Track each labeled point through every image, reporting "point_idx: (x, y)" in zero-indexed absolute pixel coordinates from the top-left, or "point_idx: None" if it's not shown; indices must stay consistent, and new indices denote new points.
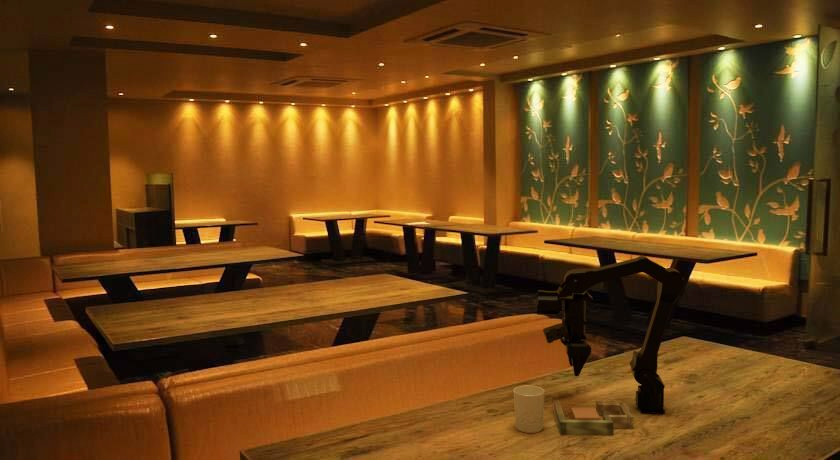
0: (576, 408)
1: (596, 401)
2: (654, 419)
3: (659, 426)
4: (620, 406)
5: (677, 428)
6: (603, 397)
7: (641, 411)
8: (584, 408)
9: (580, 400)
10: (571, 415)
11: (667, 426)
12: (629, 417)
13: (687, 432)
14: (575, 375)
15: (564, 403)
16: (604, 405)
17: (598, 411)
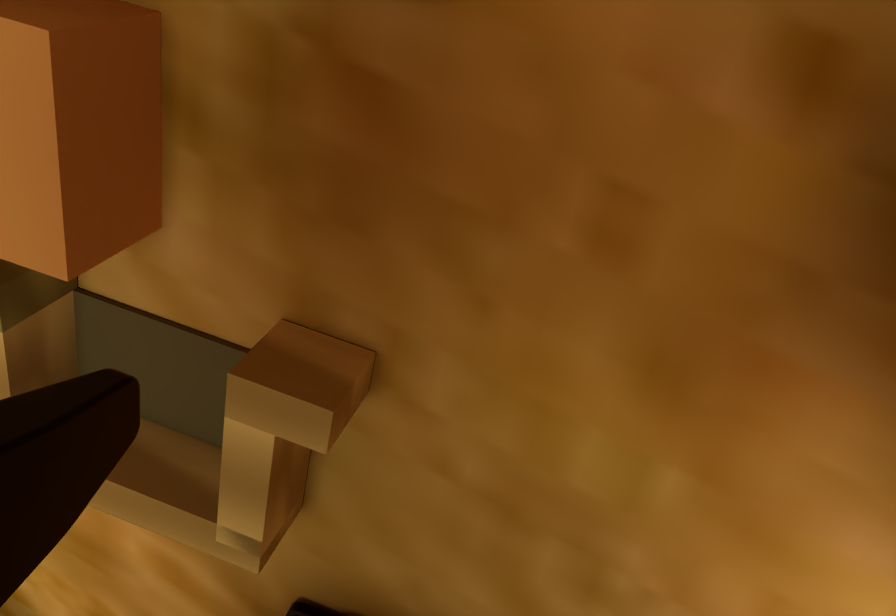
0: (27, 83)
1: (318, 407)
2: (202, 597)
3: (99, 554)
4: (199, 513)
5: (79, 607)
6: (704, 585)
7: (292, 609)
8: (38, 173)
9: (708, 371)
10: (96, 15)
11: (102, 587)
12: None
13: (34, 611)
14: (96, 381)
15: (681, 164)
16: (226, 418)
17: (261, 342)
